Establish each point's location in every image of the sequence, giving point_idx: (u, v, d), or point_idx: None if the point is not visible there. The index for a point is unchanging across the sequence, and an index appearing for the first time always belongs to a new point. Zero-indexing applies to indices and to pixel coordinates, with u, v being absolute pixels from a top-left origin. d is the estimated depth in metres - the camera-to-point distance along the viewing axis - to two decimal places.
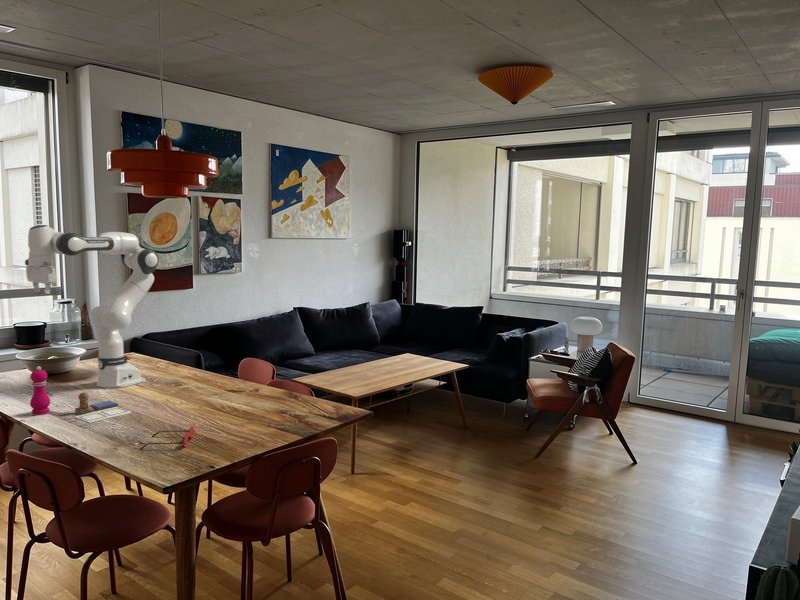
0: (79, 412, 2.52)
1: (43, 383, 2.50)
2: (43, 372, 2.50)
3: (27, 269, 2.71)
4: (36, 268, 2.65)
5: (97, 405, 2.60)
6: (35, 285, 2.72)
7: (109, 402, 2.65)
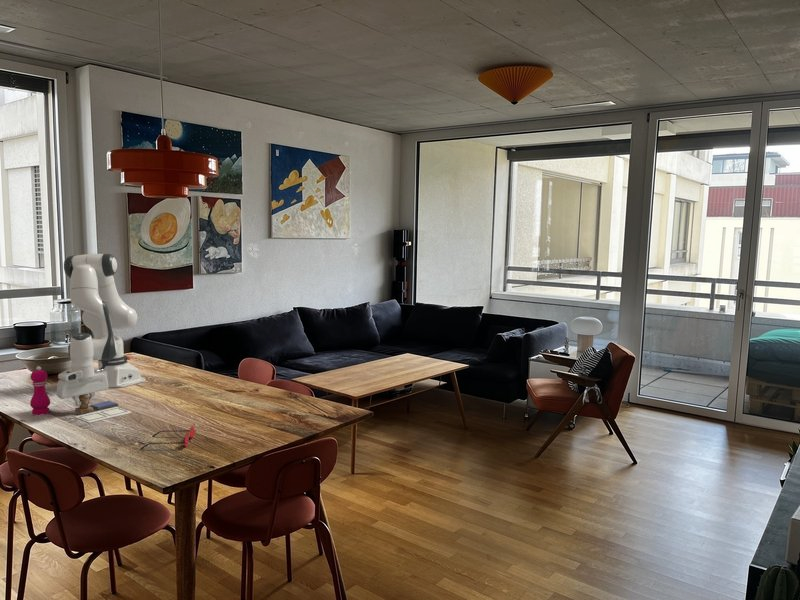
0: (79, 412, 2.52)
1: (43, 383, 2.50)
2: (43, 372, 2.50)
3: (65, 385, 2.46)
4: (90, 378, 2.53)
5: (97, 405, 2.60)
6: None
7: (109, 402, 2.65)
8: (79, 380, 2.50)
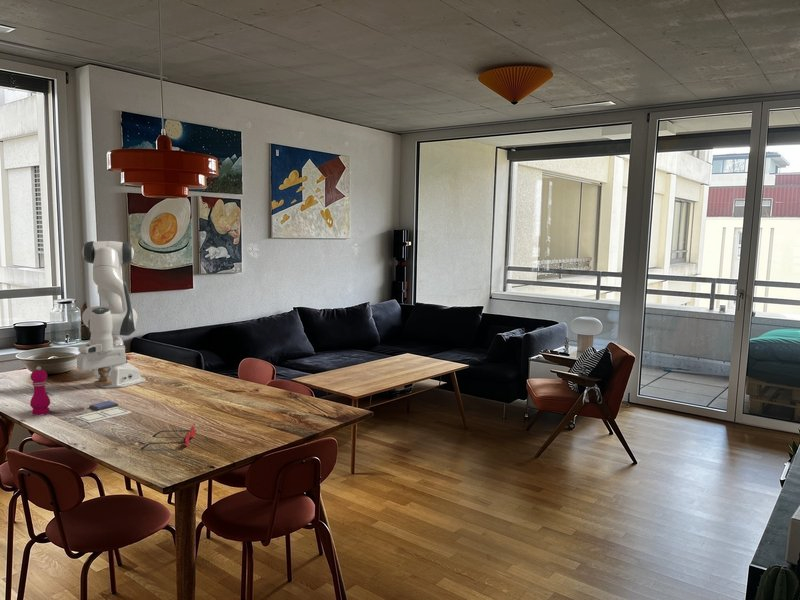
0: (98, 384, 2.59)
1: (43, 383, 2.50)
2: (43, 372, 2.50)
3: (85, 358, 2.52)
4: (109, 352, 2.60)
5: (97, 405, 2.60)
6: None
7: (109, 402, 2.65)
8: (98, 353, 2.57)
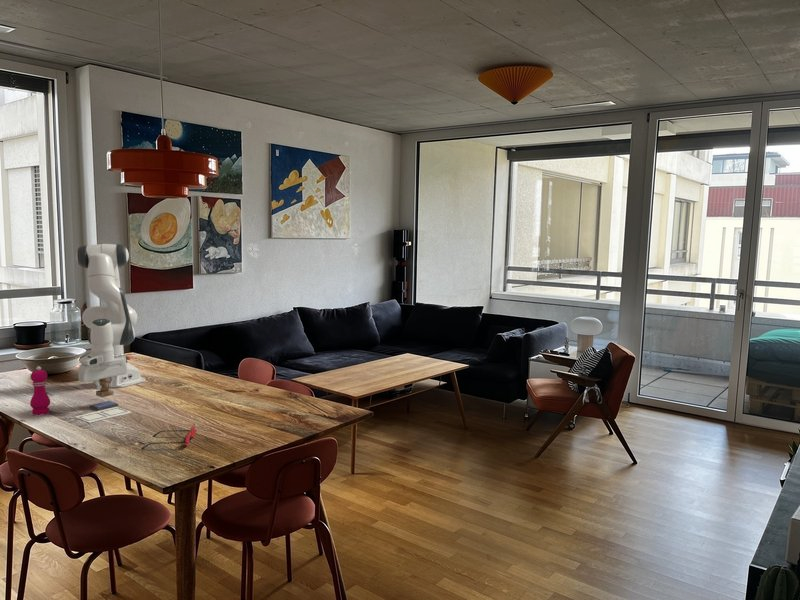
0: (100, 395, 2.60)
1: (43, 383, 2.50)
2: (43, 372, 2.50)
3: (87, 370, 2.53)
4: (110, 363, 2.61)
5: (97, 405, 2.60)
6: None
7: (109, 402, 2.65)
8: (100, 364, 2.58)
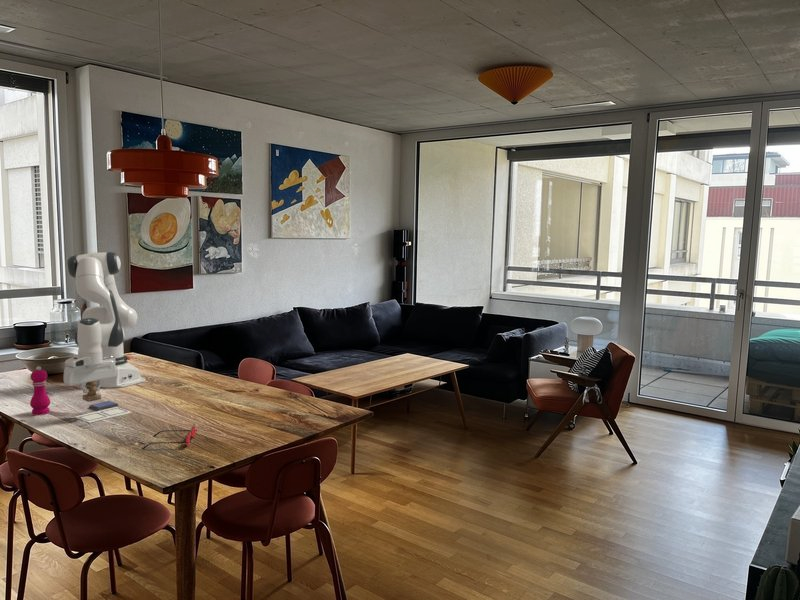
0: (87, 399, 2.44)
1: (43, 383, 2.50)
2: (43, 372, 2.50)
3: (73, 372, 2.38)
4: (98, 365, 2.45)
5: (97, 405, 2.60)
6: None
7: (109, 402, 2.65)
8: (87, 367, 2.42)
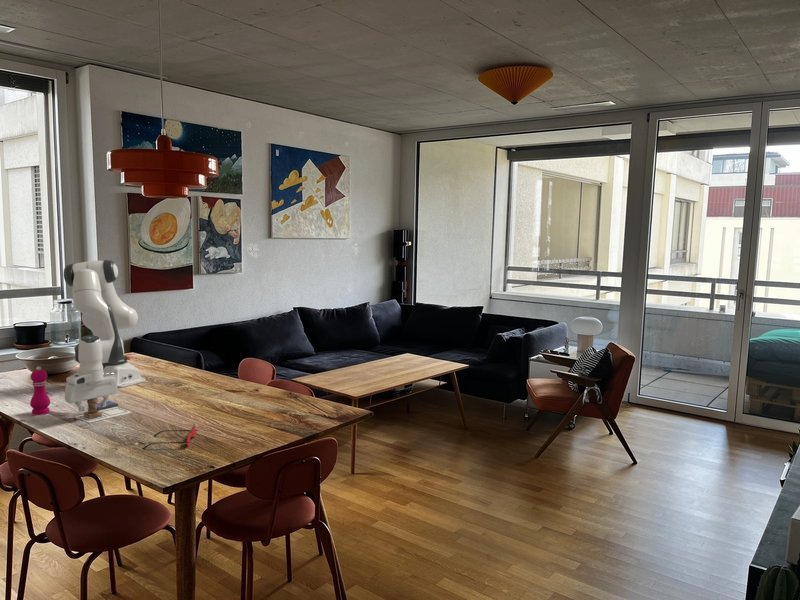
0: (88, 417, 2.45)
1: (43, 383, 2.50)
2: (43, 372, 2.50)
3: (74, 389, 2.39)
4: (99, 382, 2.46)
5: (97, 405, 2.60)
6: None
7: (109, 402, 2.65)
8: (88, 384, 2.43)
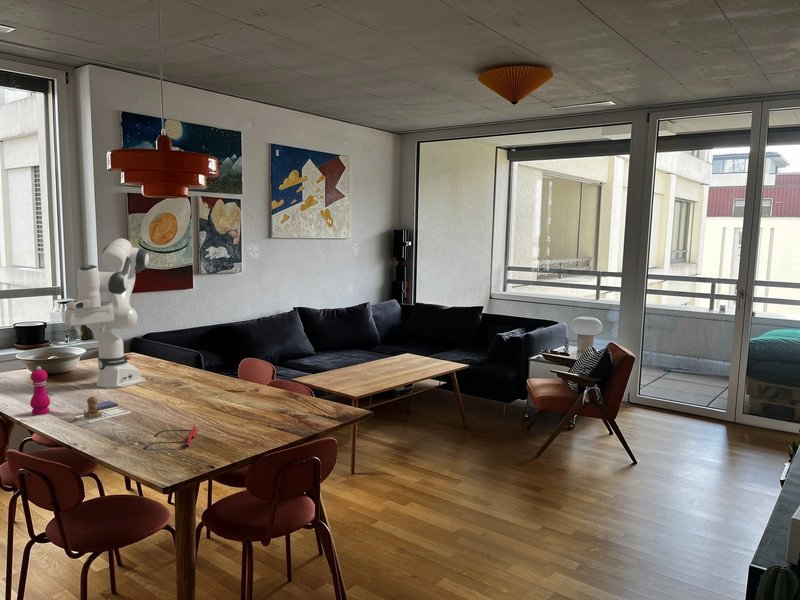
0: (88, 417, 2.45)
1: (43, 383, 2.50)
2: (43, 372, 2.50)
3: (73, 313, 2.55)
4: (96, 309, 2.63)
5: (97, 405, 2.60)
6: None
7: (109, 402, 2.65)
8: (86, 309, 2.60)
